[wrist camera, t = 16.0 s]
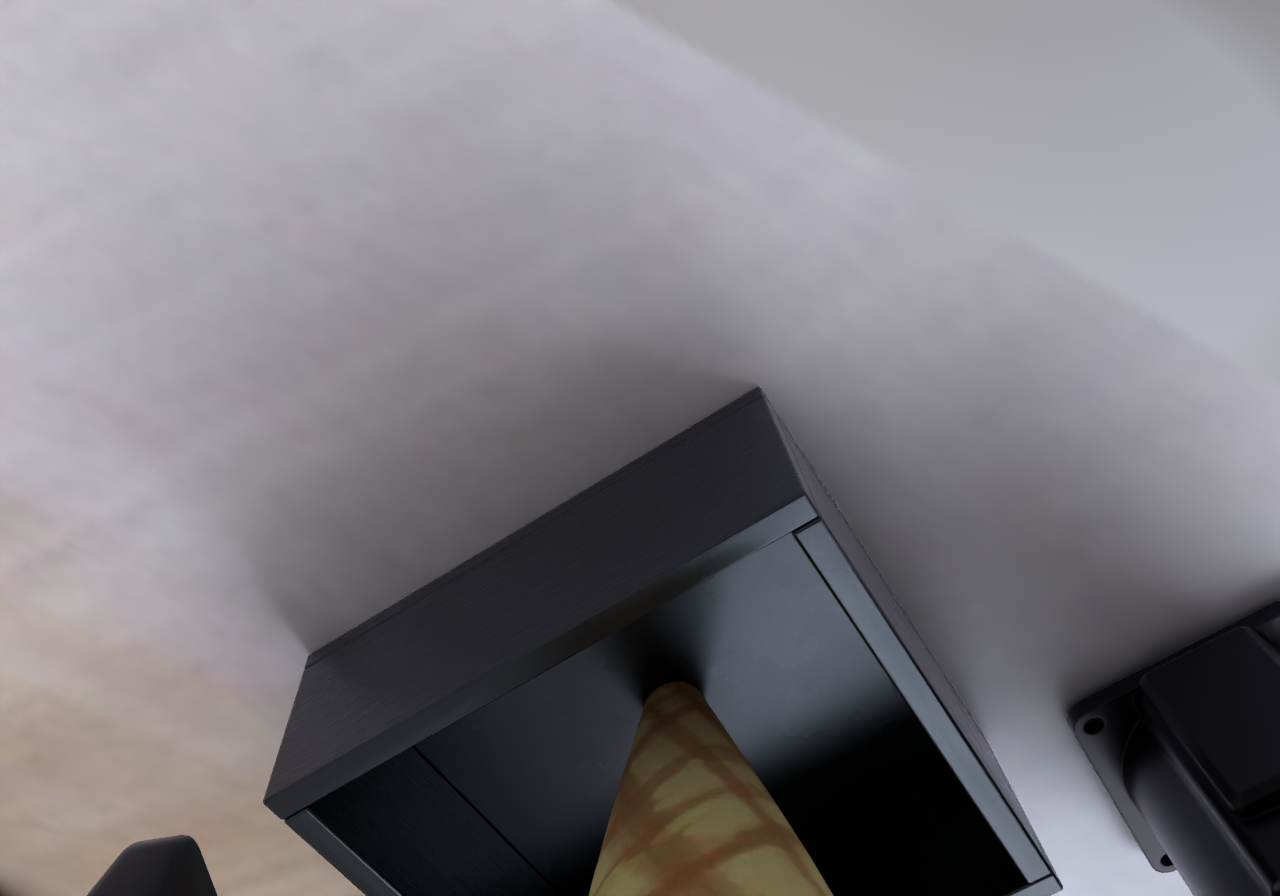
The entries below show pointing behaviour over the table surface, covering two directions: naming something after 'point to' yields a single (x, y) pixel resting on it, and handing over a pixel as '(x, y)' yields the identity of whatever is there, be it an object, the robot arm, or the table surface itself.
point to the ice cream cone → (696, 814)
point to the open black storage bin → (627, 674)
